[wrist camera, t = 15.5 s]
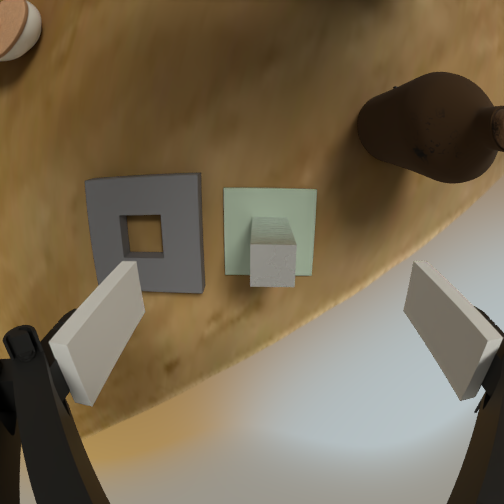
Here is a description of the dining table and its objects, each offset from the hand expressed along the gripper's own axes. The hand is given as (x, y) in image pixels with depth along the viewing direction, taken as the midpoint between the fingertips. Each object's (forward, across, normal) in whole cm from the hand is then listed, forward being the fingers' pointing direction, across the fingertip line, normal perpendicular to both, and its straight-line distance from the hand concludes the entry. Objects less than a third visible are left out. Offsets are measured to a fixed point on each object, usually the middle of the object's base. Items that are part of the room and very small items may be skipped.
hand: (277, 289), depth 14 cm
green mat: (+28, 0, -6) cm, 29 cm away
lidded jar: (+29, -38, +28) cm, 56 cm away
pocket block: (+28, -17, -6) cm, 33 cm away
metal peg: (+28, 0, -6) cm, 29 cm away
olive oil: (+29, +16, +8) cm, 35 cm away
